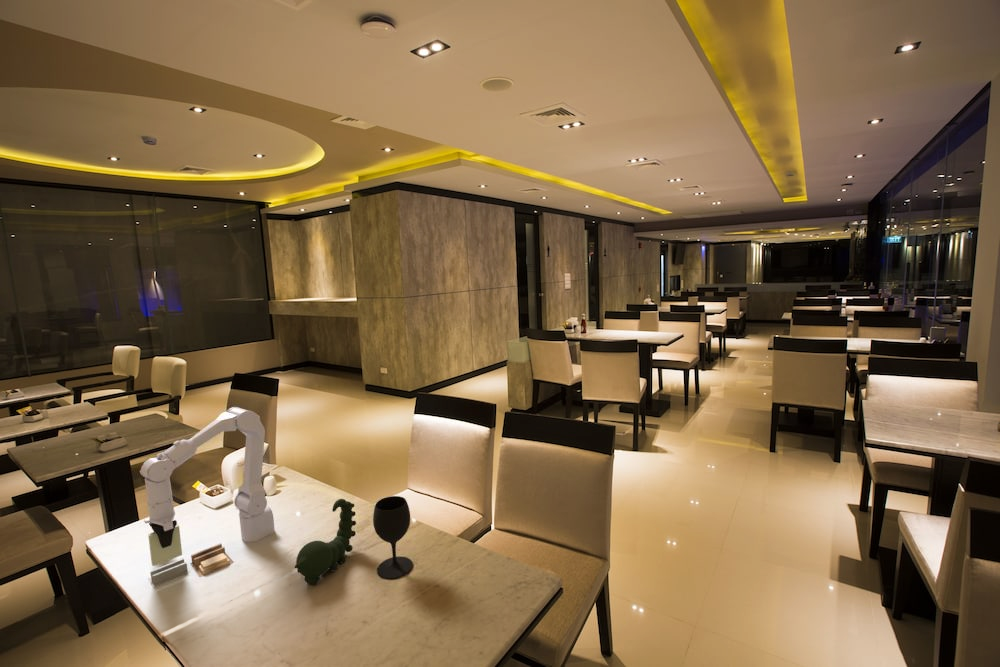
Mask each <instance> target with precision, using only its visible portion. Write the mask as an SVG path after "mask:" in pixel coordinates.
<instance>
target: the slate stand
mask: <svg viewBox="0 0 1000 667" xmlns="http://www.w3.org/2000/svg"><path fill="white" fill-rule="evenodd" d="M149 573H150V577H149V578H148V581H149V583H150V585H151V587H152V588H155V587H158V586H160V585H163V584H164V583H167V582H170V581H172V580H174V579H177V578H179V577H182V576H184V575H186V574H189V573H191V570H190V568H189V567H188V564H187V561H185V559H184V558H180V559H177V560H175V561H172V562H169V563H168V564H165V565H162V566H159V567H156V568H154V569H151V570H150V572H149Z"/></svg>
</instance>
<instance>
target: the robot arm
mask: <svg viewBox="0 0 1000 667" xmlns="http://www.w3.org/2000/svg"><path fill="white" fill-rule="evenodd" d="M237 430H238V431H239V432H241V433H242V434H243V435H245V450H244V459H243V460H244V462H243V472H242V484H241V485H240V486H238V489H237V494H236V496H235V498H234V500H233V501H234V506H235V507H236V508H237V509H238V510H239V513H238V515H239V516H238V517H239V525H240V533H241V534H240V535H241V541H242V542H243V543H253V542H256V541H259V540H261V539H263V538H265V537H267V536H269V535H272V534H274V533H275V532H276V531H275V520H274V513H273V510H272V508H271V507H270V506H267V505H268V501H267V500H268V499H267V498H266V491H265V489H264V487H263V485H262V475H263V474H262V473H263V461H264V448H265V437H266V436H265V434H266V428H265V427H264V425H263V423H262V421H261V417H260V415H258V413H256V412H255V411H252V410H250V409H249V410H248V409H244V408H241V407H238V406H233V407H230V408H228V409H227V410H226V411H224V412H221V413H220V415H219V416H218V417H217V418H216V419H214V420H213V421H212V422H211V423H209V424H208V425H207V426H205V427H204V428H202V429H201V430H200V431H198V432H197V433H195V435H193V436H192V437H191V438H188V439H181V440H176V441H174V442H173V443H172V446H171V447H169V448H167V449H166V450H164V451H163V452H159V453H157V454H156V457H155V456H154V457H150V458H148V459H147V460H146V461H144V462H143V464H142V466H141V467H140V470H139V473H140V475H141V476H142V477H144V483H145V494H146V502H147V509H148V517H146V518H144V520H143V522H144V523H145V524H149V526H150V528H151V529H152V531H153V532H155V533H156V534H157V536H158V538H159V542H160V544H161V546H162V548H165V547H168V546H171V544H172V537H173V532H174V529H175V526H176V525H177V524H178V521H177V520H176V519H175V516H176V510H175V509H174V507H175V506H174V499H173V491H172V490H173V489H172V484H171V476H172V473H173V472H174V470H175V469H177V468H178V467H180V466H181V465H183V463H185V462H186V461H187V460H189V459H190V458H192V457H194V456H195V455H196V453H197V450H198V448H199V447H200V446H203V445H204V444H206V443H207V442H209V441H210V440H212V439H213V438H215V437H216V436H219V435H220V434H222V433H223V432H235V431H237Z"/></svg>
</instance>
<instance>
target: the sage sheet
mask: <svg viewBox="0 0 1000 667" xmlns="http://www.w3.org/2000/svg"><path fill="white" fill-rule="evenodd" d="M147 535H148V544H149V552H150V553H149V554H150V561H151V565H152V567H154V566H157V565H160V564H162V563H165V562H167V561H170V560H173V559H176V558H178V557H181V556H183V550H182V541H181V532H180V525H179V524H178V523H177V525H176V526H175V529H174V532H173V537H172V544H171V546H168V547H165V548H162V546H161V544H160V542H159V538H158V536H157V534H156V533H155V532H154V531H153V532H150V533H148V534H147Z"/></svg>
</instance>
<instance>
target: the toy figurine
mask: <svg viewBox="0 0 1000 667" xmlns="http://www.w3.org/2000/svg"><path fill="white" fill-rule="evenodd" d="M354 507H355V504H354V502H353V503H352V502H351V501H347V500H346V499H344V498H339V499H337V500H335V502H334V503H333V506H332V512H334V513H335V512H336V511H337V509H338V508H340V513H339V519H340V520H339V521H338V530H337V531H336V535H335V537H334V538H333V540H329V541H328V542H325V541H322V540H313V541H310V542H308V543H305V545H303V546H302V548H301V549H300V550H299V552H298V554H297V557H296V562H295V563H296V564H295V565H294V569H297V574H300V575H301V576H302V577H304V583H306V584H307V585H309V586H315V585H317V584H318V583H319V582H320V580H321V576H323V575H324V574H325V573H326V572H327V571H332V572H334V571H335V572H336V570H338V568H339V563H340V564H344V563H345V562H346V560H347V557H346V555H345V554H346V552H347V553H351V552H352V551H353V548H354V547H353V545H351V544H350V542H351V541H350V540H351V538H352V537H355V536H356V535H357V534H356V530H353V529H352V528H353V526H356V525H357V521H356V520H353V518H354V516H356V511H355V510H353V508H354Z"/></svg>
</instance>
